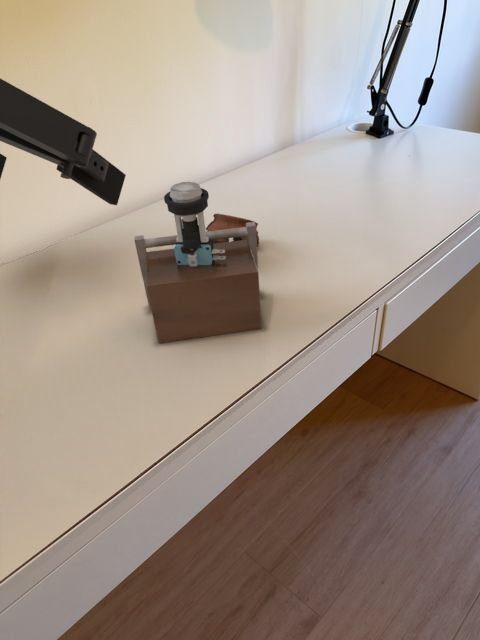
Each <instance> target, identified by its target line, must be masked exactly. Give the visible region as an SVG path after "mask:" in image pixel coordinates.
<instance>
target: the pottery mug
mask: <svg viewBox="0 0 480 640" xmlns="http://www.w3.org/2000/svg"><path fill="white" fill-rule="evenodd" d="M212 216H213V220H212V221H210V223H209V224H208V225H207V227H205V230H206V232H208V231H217V230H225V229H233V228H242V227H246V223H250V222H255V225H256V238H257V248H259V245H260V238H259V231H258V229H257V228H258V226H259V223H258V222H256V221H254V220H251V219H247V218H243V217H238V216H234V215H230V214H229V215H228V214H223V213H214V214H213V215H212ZM240 240H247V236H242V237H234V238H232V241H240ZM224 242H230V238H226V239H218V240H213V244H216V243H224Z"/></svg>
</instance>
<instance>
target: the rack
mask: <svg viewBox="0 0 480 640" xmlns="http://www.w3.org/2000/svg"><path fill="white" fill-rule="evenodd" d="M255 222H256V221H254V222H250V223H246V227H242V228H233V229H225V230H217V231H208V232H207V231H206V237H208V238H209V239H212V240H218V239H226V238H229V239H233V238H234V237H242V236H247V240H240V241H234V240H231V241H229V242H224V243H216V244H213V246H214V249H217V250H225V253H216V254H214V255H218V256H226V258H225V259H224V260H222V259H217V260H213V261H212V264H211V265H197V266H190V265H178V264H177V263H176V257H175V251H174V248H167V249H159V250H150V251H148V250H147V249H151V248H159V247H168V246H175V245H176V243H177V241H176V238H177V237H178V235H177V234H176V235H167V236H157V237H151V238H145V236H144V235H143V234H139V235H134V238H133V239H134V240H133V241H134V246H135V250H136V254H137V259H138V264H139V268H140V273H141V278H142V281H143V286H144V292H145V296H146V300H147V301H146V302H147V304H148V310H149V312H151V314H152V319H153V324H154V328H155V334H156V337H157V342H158V344H163V343H170V342H177V341H184V340H191V339H199V338H205V337H212V336H220V335H227V334H234V333H242V332H249V331H254V330H255V331H256V330H261V329H262V313H261V298H260V297H261V291H260V275H259V257H258V247H257V238H256V225H255ZM220 252H222V251H220ZM221 258H223V257H221Z"/></svg>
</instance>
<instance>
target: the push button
mask: <svg viewBox="0 0 480 640" xmlns="http://www.w3.org/2000/svg"><path fill="white" fill-rule="evenodd" d="M209 197H210V195H209V192H208V190H206V189H205V188H202V187H201V185H200V184H199V183H197V182H195V181H181V182H178V183H175V184H173V185H171V186H170V188H169V191H168V192H167V193H166V194H164V196H163V200H164V203H165V205H166V207H167V211H168V212H169V213H171V214H173V215H174V223H175V228H176V235H178V237H177V238H176V241H177V243H176V245H174V247H173V249H174V251H175V257H176V263H177V264H178V265H190V266H197V265H211V264H212V261H213V260H217V259H222V260H224V259H225V258H226V256H218V255H214V254H216V253H225V250H217V249H214V246H213V240H212V239H209V238H208V237H206V232H207V230H206V222H205V215H204V211H205V210H206V209H207V208H208V206H209V203H208V202H209V201H208V200H209ZM220 251H222V252H220ZM221 257H223V258H221Z"/></svg>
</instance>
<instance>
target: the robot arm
mask: <svg viewBox="0 0 480 640" xmlns="http://www.w3.org/2000/svg"><path fill="white" fill-rule="evenodd" d="M97 136H98V133H97V132H96V130H94V129H92V127H90V126H87V125H86V124H84V123H82V122H80V121H78V120H77V119H75V118H74V117H71V116H69V115H67V114H65V113H63V112H62V111H60V110H58V109H57V108H55V107H53V106H51V105H49V104H47V103H45V101H42V100H40V99H39V98H37V97H35V96H33V95H31V94H30V93H28V92H26V91H24V90H22V89H21V88H19V87H16V86H15V85H13V84H11V83H10V82H8V81H6V80H4V79H3V78H0V142H2V143H5V144H7V145H9V146H12V147H13V148H15V149H19V150H21V151H24V152H26V153H29V154H31V155H33V156H36V157H38V158H40V159H42V160H46V161H48V162H50V163H53V164H55V165H57V166H56V170H57V171H58V172H60V173H61V174H60V178H63V179H65V180H71V181H74V183H76V184H78V185H79V186H81V187H82V188H84V189H86V190H87V191H89V192H90V193H92V194H93V195H94V196H97V197H98V198H100V199H101V200H102V201H104V202H106V203H107V204H109V205H112V206H118V203H119V201H120V196H121V193H122V190H123V186H124V182H125V180H126V176H127V174H126V173H124V171H122V170H120V169H119V168H118V167H117V166H115V165H114V164H113V163H111V162H110V161H109V160H107V159H106V158H105V157H103V155H101V154H100V153H98V152H97V151H96V150H95V149H94V146H95V142H96V139H97ZM7 158H8V157H7V156H5V155H4V154H2V153H0V180H1V178H2V175H3V172H4V169H5V166H6V165H5V164H6V161H7Z"/></svg>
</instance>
